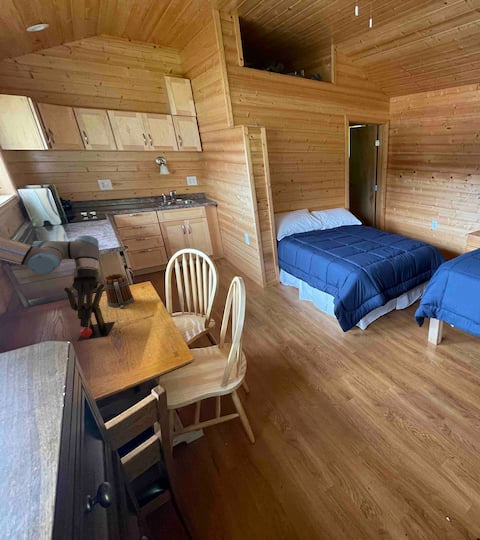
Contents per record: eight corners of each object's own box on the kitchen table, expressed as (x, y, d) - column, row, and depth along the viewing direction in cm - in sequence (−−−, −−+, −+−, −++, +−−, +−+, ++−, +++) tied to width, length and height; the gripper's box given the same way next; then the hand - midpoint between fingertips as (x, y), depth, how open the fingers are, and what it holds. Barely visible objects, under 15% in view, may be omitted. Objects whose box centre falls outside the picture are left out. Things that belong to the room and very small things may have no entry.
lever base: (108, 338, 125) (99, 309, 120) (77, 343, 121) (67, 314, 116) (115, 323, 135) (108, 296, 130) (87, 327, 131) (78, 299, 126)
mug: (107, 302, 151) (99, 275, 145) (133, 297, 157) (126, 271, 152) (109, 316, 140) (101, 287, 134) (137, 309, 147) (130, 282, 141)
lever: (93, 337, 119) (89, 333, 116) (81, 339, 117) (77, 335, 115) (97, 307, 126) (94, 302, 123) (86, 308, 125) (83, 304, 122)
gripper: (109, 272, 130) (108, 325, 123) (70, 276, 124) (67, 331, 117) (102, 266, 123) (101, 321, 116) (60, 269, 118) (57, 327, 111)
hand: (84, 326), depth 117 cm, fingers closed
